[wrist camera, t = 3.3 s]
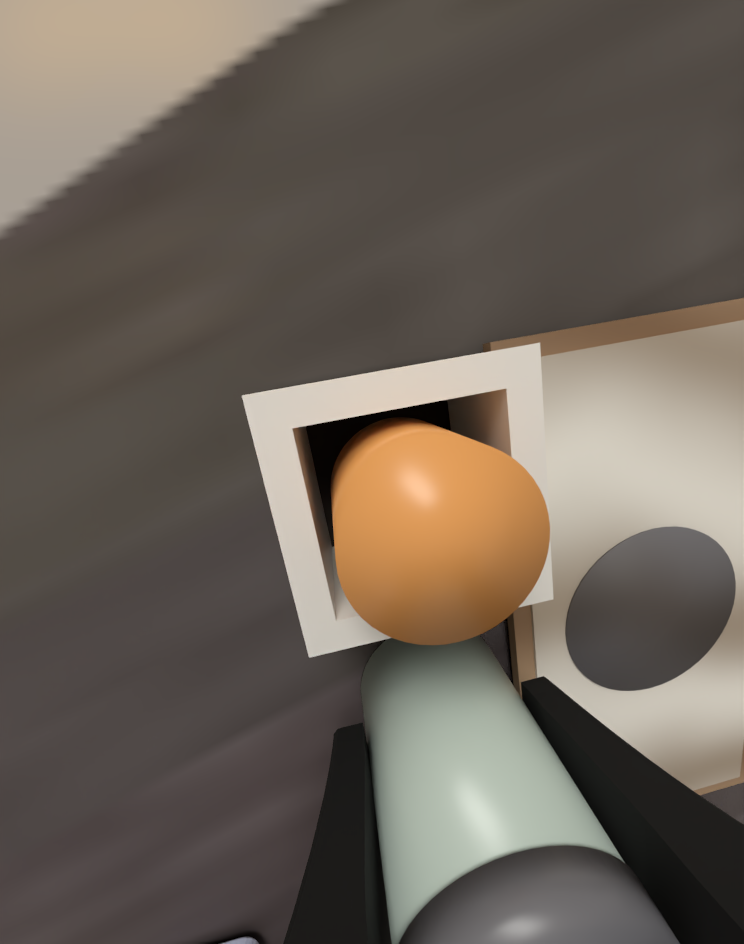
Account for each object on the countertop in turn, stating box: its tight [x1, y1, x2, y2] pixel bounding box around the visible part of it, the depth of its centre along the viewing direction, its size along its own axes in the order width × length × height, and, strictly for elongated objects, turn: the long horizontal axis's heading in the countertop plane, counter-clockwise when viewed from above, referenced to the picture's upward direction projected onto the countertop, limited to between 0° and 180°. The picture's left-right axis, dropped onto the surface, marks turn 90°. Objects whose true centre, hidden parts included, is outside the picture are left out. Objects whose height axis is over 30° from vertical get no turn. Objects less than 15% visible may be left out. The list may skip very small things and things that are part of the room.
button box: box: [242, 343, 553, 658], centre depth 8 cm, size 5×5×3 cm
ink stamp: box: [361, 635, 680, 944], centre depth 8 cm, size 4×4×6 cm
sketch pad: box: [483, 298, 744, 795], centre depth 11 cm, size 16×8×1 cm, turn 10°
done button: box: [331, 417, 550, 645], centre depth 6 cm, size 3×3×3 cm
